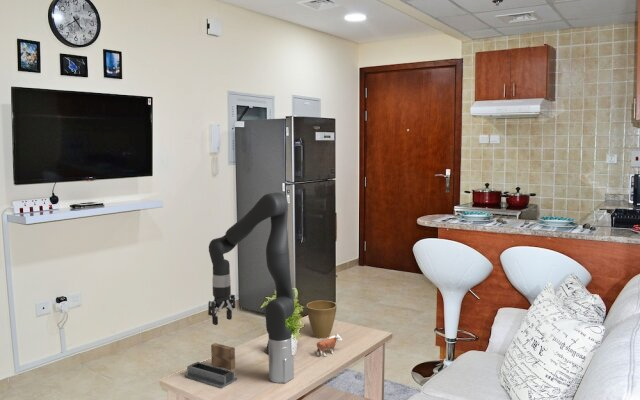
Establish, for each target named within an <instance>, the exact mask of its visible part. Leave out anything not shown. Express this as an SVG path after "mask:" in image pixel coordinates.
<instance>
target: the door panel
mask: <svg viewBox="0 0 640 400" xmlns="http://www.w3.org/2000/svg"><path fill="white" fill-rule="evenodd" d="M210 350H211V365H212V366H215V367H219V368H223V369H226V370H230V371H233V370H235V369H236V352H235V350H236V349H235V347H233V346H228V345H224V344H221V343H216V342H215V343H213V344H211V349H210Z"/></svg>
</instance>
